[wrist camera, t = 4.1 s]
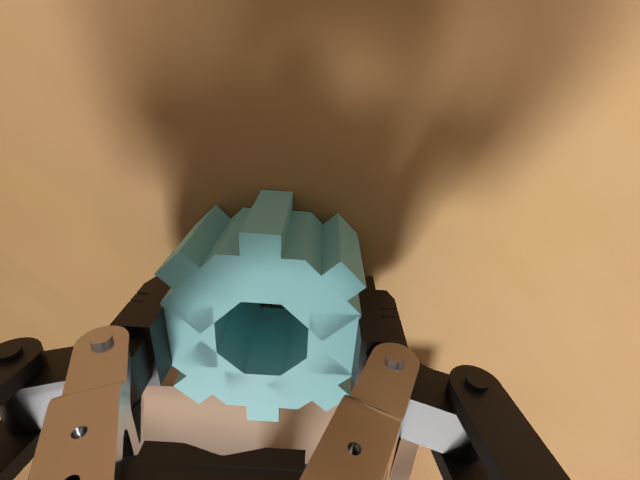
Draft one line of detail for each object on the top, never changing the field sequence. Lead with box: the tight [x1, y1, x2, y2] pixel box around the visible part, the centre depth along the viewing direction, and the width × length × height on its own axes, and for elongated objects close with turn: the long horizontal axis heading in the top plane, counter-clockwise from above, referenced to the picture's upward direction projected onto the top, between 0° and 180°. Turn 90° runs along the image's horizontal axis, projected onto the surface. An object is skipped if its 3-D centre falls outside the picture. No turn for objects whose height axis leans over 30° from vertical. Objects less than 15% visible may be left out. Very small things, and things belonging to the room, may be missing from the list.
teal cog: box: [155, 190, 366, 422], centre depth 12 cm, size 7×6×4 cm
